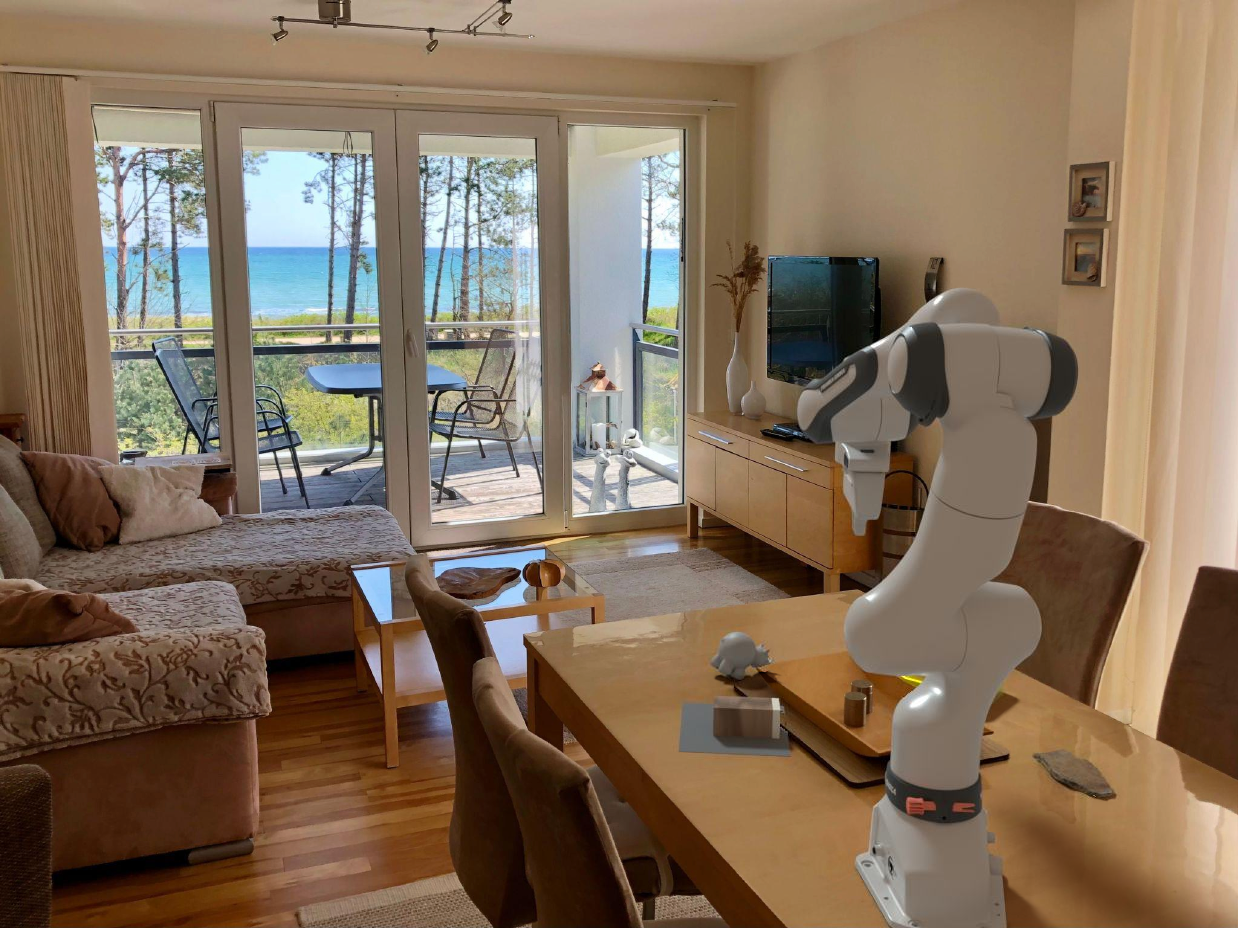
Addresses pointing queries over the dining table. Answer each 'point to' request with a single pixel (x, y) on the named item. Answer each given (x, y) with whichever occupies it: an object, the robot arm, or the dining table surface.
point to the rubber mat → (701, 740)
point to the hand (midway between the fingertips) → (858, 533)
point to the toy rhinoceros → (739, 655)
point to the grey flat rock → (1075, 772)
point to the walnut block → (746, 717)
